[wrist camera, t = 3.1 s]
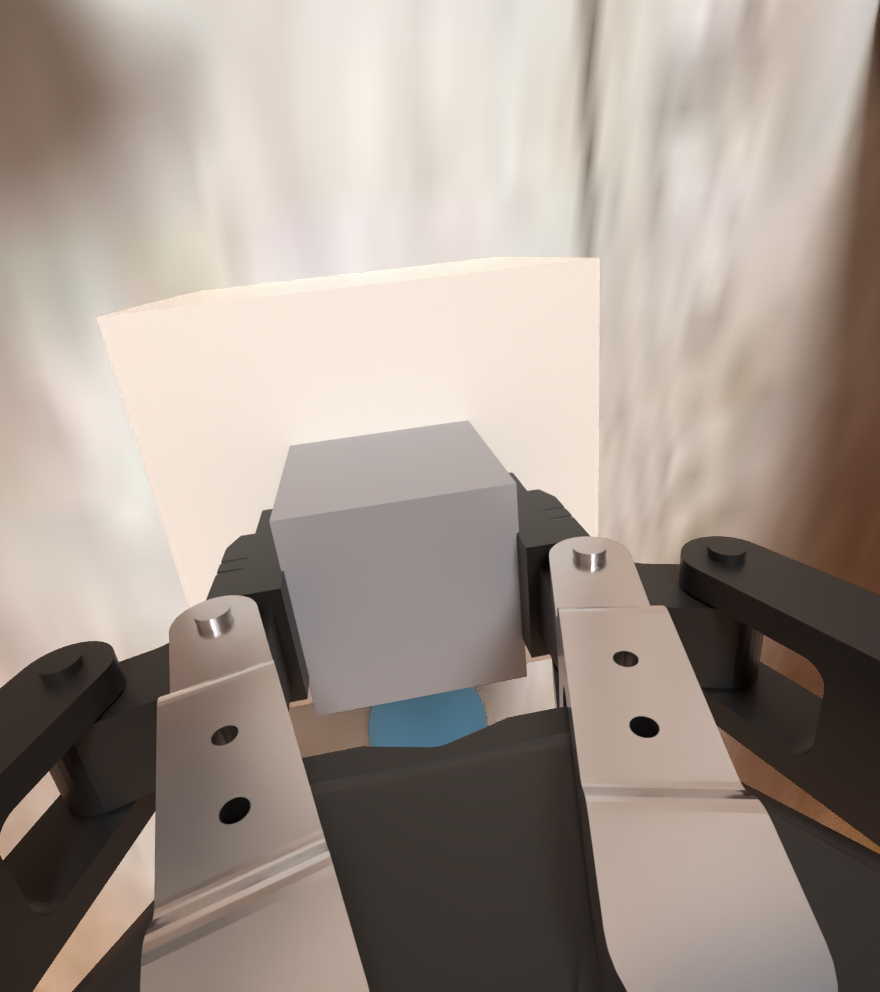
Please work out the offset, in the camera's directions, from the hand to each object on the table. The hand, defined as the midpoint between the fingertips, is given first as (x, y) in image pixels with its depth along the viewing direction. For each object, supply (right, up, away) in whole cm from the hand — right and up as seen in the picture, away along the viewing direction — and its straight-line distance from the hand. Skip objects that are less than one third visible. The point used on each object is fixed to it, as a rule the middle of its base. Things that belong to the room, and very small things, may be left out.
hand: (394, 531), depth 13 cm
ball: (+1, -9, +12) cm, 15 cm away
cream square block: (-1, +4, +9) cm, 10 cm away
